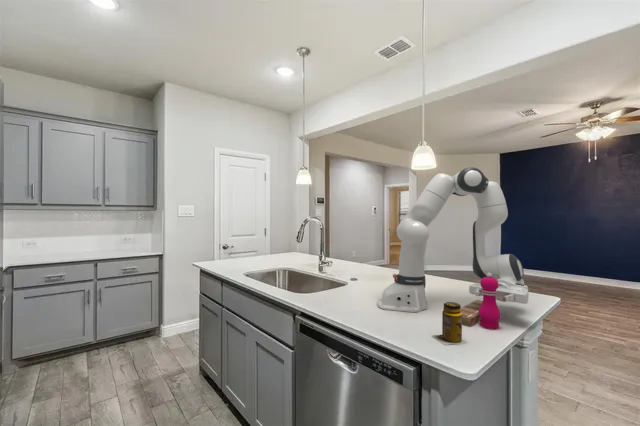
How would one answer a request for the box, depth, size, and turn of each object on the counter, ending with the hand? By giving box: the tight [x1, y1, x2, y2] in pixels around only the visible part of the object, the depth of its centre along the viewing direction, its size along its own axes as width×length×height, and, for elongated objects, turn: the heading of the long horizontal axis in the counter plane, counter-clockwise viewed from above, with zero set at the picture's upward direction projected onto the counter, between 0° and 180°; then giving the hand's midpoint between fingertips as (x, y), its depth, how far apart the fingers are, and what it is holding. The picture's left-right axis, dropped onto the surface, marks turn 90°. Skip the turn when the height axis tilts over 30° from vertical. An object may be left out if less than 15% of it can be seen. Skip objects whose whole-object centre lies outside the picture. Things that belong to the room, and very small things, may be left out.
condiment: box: [431, 301, 468, 346], centre depth 102 cm, size 7×8×12 cm
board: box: [460, 299, 483, 328], centre depth 125 cm, size 28×8×3 cm, turn 132°
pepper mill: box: [478, 273, 502, 330], centre depth 113 cm, size 7×7×20 cm
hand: (490, 296), depth 114 cm, fingers open, 8 cm apart
